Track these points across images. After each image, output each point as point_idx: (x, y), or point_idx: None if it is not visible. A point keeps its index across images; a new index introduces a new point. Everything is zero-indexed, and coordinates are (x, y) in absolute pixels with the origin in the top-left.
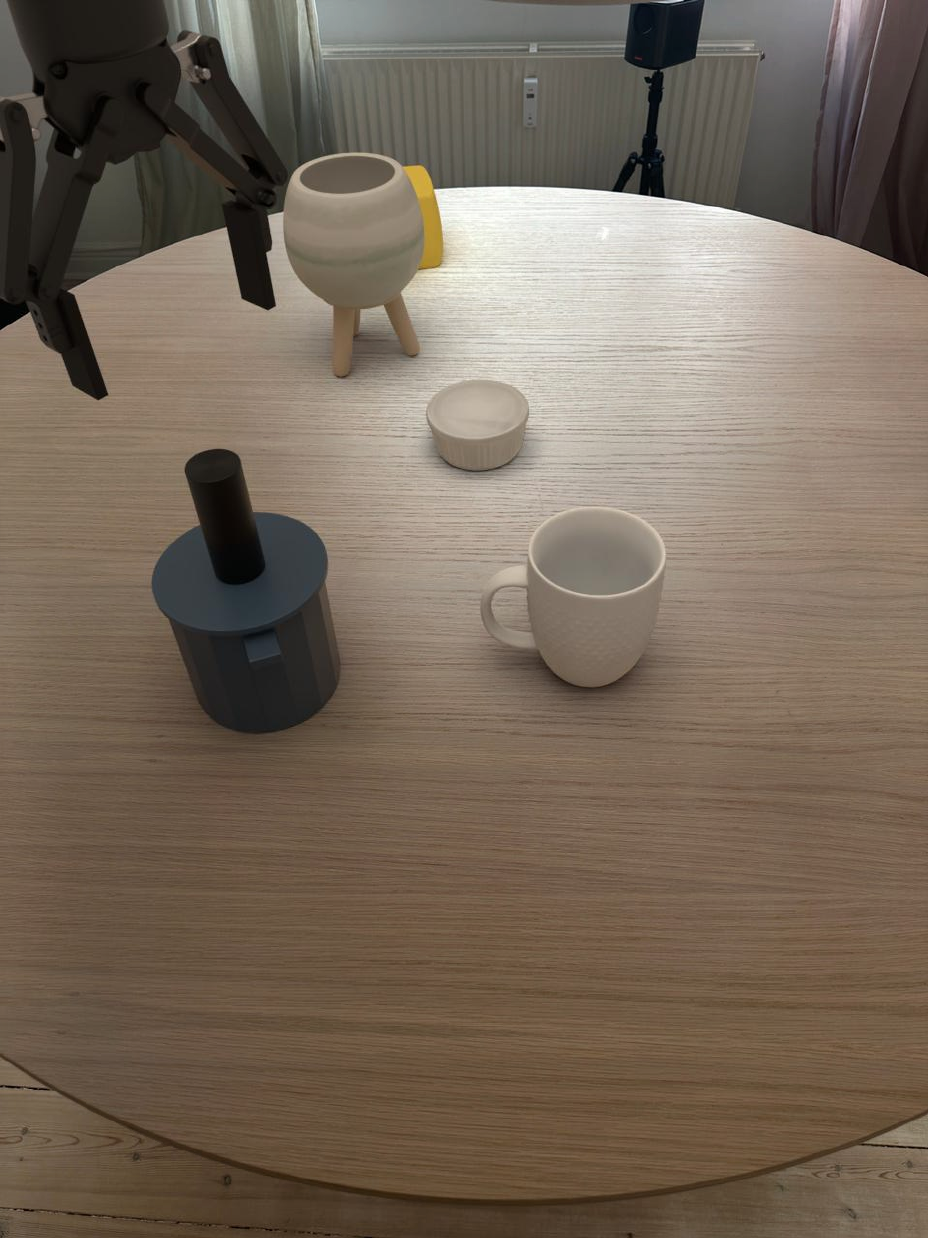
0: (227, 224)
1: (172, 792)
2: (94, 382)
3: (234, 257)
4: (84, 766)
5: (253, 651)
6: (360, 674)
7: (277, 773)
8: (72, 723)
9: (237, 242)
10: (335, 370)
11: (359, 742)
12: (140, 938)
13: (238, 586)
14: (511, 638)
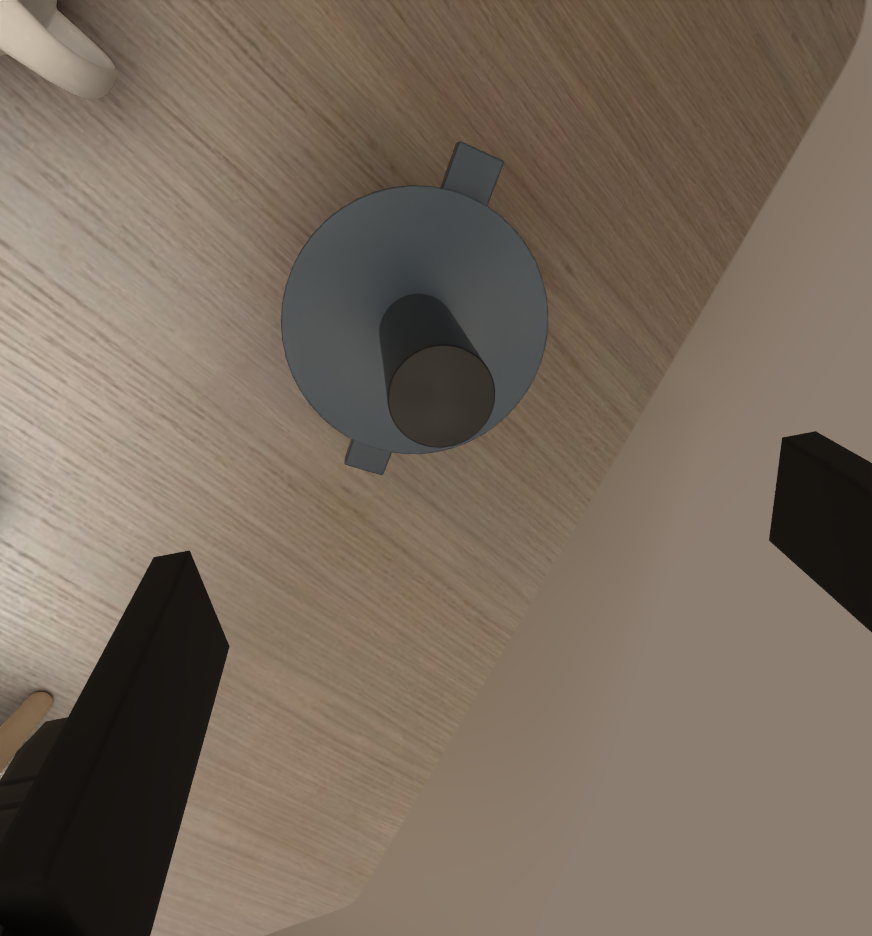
0: (159, 883)
1: (579, 211)
2: (848, 455)
3: (195, 754)
4: (621, 314)
5: (487, 178)
6: (307, 209)
7: (478, 142)
8: (598, 377)
9: (162, 792)
10: (48, 702)
11: (372, 105)
12: (715, 47)
13: (441, 298)
14: (86, 48)
